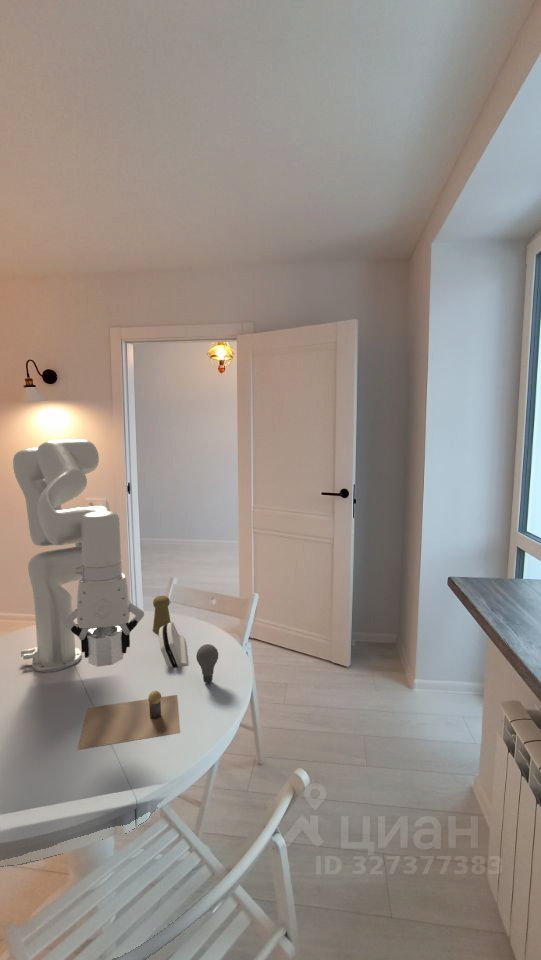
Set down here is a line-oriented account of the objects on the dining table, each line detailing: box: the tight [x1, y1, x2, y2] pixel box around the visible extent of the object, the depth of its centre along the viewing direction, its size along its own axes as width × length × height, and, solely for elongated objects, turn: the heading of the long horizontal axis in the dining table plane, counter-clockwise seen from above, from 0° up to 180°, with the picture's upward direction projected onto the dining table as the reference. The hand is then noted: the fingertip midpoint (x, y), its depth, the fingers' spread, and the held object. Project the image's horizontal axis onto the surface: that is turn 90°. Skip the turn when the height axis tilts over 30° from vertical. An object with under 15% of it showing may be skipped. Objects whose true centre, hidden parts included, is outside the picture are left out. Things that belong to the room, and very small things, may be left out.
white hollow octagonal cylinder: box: [87, 626, 125, 667], centre depth 95 cm, size 7×7×6 cm
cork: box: [152, 595, 172, 635], centre depth 146 cm, size 6×6×11 cm
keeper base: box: [77, 690, 181, 751], centre depth 98 cm, size 20×14×7 cm
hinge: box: [158, 621, 189, 669], centre depth 128 cm, size 17×5×10 cm, turn 13°
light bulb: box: [196, 643, 219, 684], centre depth 115 cm, size 6×6×10 cm
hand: (106, 651), depth 95 cm, fingers closed on white hollow octagonal cylinder, 6 cm apart
